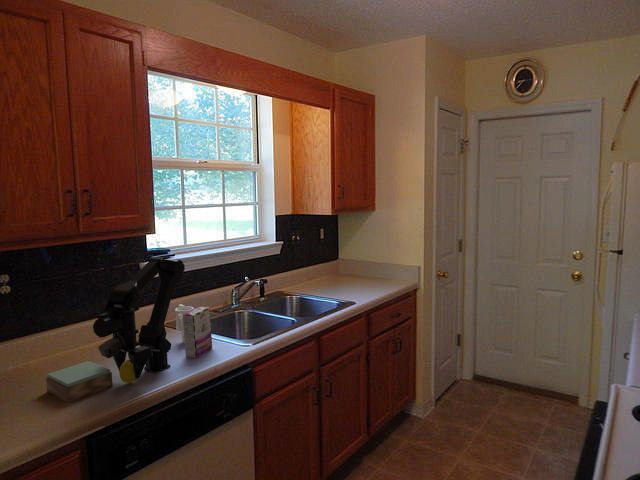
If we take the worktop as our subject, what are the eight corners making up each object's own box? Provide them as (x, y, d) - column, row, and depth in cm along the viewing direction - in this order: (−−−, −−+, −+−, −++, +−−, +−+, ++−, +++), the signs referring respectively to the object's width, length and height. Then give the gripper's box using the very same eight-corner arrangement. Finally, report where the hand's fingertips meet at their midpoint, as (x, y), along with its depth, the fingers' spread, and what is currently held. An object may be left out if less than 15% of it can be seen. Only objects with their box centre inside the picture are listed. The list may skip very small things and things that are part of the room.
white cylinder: (189, 338, 195) (187, 302, 193) (198, 341, 190) (196, 305, 188) (173, 342, 190) (171, 306, 188) (182, 346, 185) (180, 309, 183)
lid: (89, 363, 156) (88, 360, 156) (110, 372, 148) (109, 369, 148) (47, 377, 145) (47, 374, 145) (68, 387, 138) (67, 383, 138)
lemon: (141, 380, 153) (139, 356, 152) (135, 387, 148) (133, 362, 147) (124, 380, 153) (122, 356, 152) (117, 387, 148) (115, 363, 147)
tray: (91, 376, 157) (90, 363, 156) (112, 386, 149) (111, 372, 149) (47, 391, 146) (45, 378, 145) (67, 402, 138) (66, 388, 137)
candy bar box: (201, 347, 184) (199, 306, 182) (212, 348, 182) (210, 307, 180) (184, 357, 173) (182, 313, 171) (196, 358, 172) (193, 314, 170)
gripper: (85, 329, 147) (89, 376, 149) (118, 340, 136) (121, 391, 138) (118, 320, 156) (122, 365, 158) (152, 330, 145) (155, 378, 147)
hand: (129, 375), depth 150 cm, fingers open, 9 cm apart
